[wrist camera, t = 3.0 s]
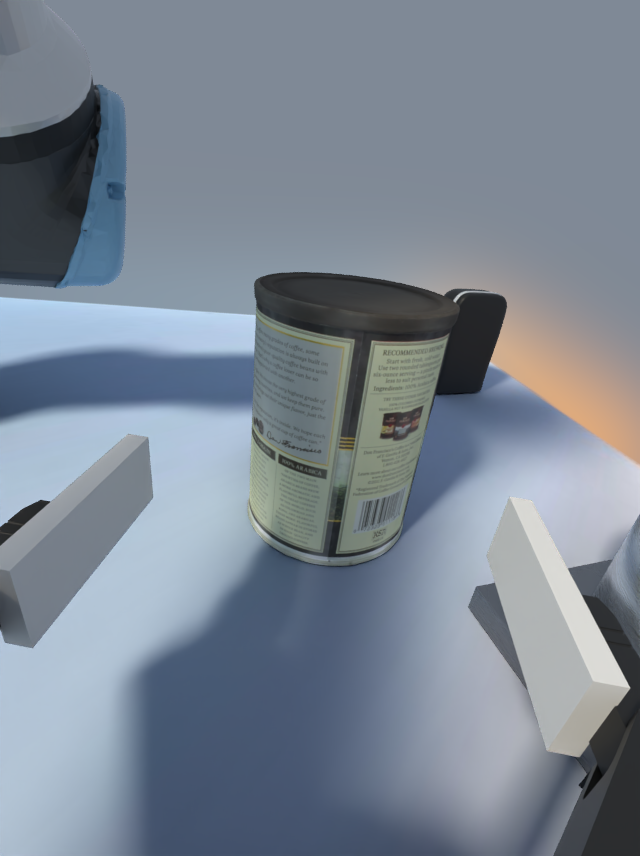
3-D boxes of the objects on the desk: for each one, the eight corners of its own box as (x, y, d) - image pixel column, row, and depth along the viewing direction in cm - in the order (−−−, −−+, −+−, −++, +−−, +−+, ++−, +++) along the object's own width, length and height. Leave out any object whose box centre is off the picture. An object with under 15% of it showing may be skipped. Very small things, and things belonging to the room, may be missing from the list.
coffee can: (301, 451, 34) (321, 266, 28) (423, 502, 30) (481, 298, 24) (210, 517, 26) (208, 278, 20) (360, 599, 22) (421, 330, 16)
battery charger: (462, 381, 54) (489, 287, 48) (482, 393, 51) (513, 294, 45) (415, 383, 51) (438, 284, 46) (433, 396, 48) (460, 292, 43)
